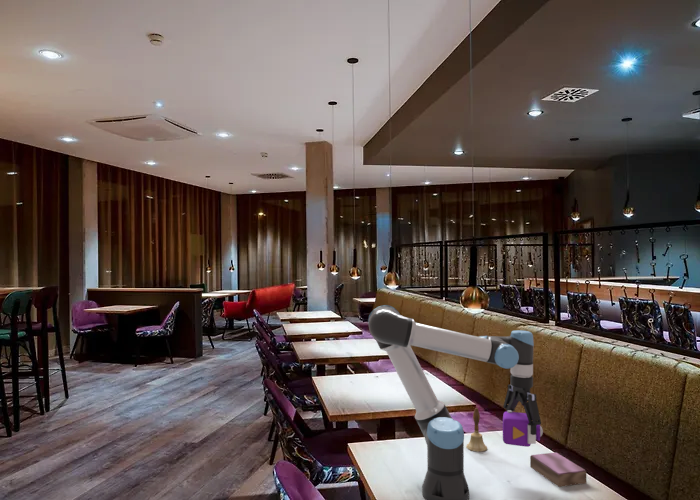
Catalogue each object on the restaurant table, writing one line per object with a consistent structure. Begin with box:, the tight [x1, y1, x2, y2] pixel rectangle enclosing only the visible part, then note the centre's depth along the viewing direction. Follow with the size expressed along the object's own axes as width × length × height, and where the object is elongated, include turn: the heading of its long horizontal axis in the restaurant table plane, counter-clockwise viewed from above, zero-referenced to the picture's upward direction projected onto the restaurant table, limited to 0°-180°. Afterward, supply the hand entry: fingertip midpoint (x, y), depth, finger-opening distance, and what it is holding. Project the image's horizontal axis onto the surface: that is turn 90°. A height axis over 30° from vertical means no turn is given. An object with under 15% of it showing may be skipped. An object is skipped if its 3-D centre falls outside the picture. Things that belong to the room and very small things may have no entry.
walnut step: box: [529, 451, 587, 488], centre depth 174 cm, size 11×16×4 cm
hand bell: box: [465, 407, 488, 453], centre depth 199 cm, size 8×8×16 cm
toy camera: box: [502, 410, 544, 447], centre depth 172 cm, size 11×14×10 cm
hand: (521, 436), depth 172 cm, fingers closed on toy camera, 12 cm apart
